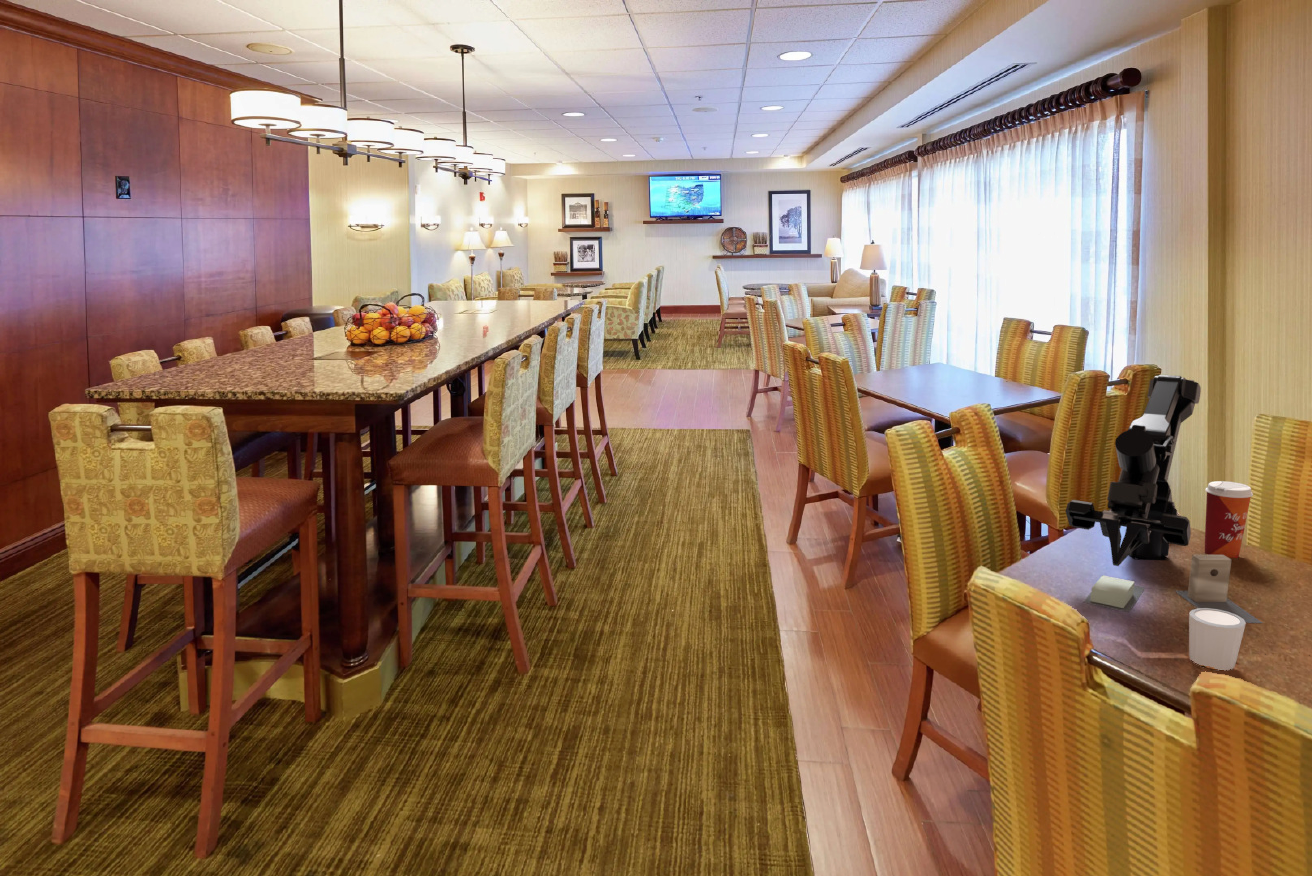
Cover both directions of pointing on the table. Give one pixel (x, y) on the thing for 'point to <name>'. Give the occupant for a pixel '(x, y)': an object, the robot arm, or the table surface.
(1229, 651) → the white cup
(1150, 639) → the table surface
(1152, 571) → the table surface
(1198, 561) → the cream tile
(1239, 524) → the paper cup
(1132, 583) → the sage tile
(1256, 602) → the table surface
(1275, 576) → the table surface
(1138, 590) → the pair of gray tiles
